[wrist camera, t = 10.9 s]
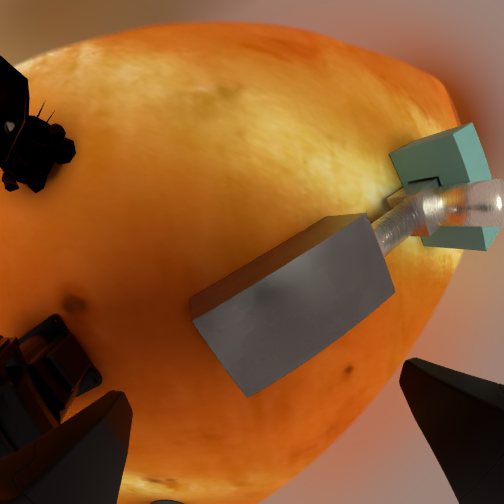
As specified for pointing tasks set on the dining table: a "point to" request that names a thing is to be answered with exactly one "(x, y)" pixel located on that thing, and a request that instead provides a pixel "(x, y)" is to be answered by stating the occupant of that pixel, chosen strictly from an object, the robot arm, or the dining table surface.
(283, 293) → the grey rectangular box
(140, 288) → the dining table surface
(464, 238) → the teal block
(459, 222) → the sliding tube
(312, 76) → the dining table surface
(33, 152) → the cat figurine
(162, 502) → the sundae
